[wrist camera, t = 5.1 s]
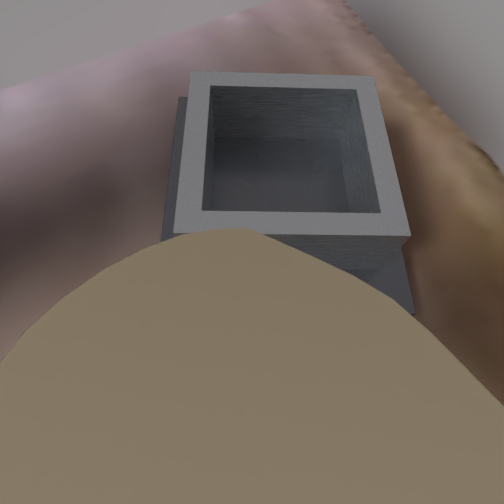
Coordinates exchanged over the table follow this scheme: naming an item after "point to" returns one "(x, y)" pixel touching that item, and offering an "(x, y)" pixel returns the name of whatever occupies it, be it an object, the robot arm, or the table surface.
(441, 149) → the table surface
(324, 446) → the handle
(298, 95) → the socket
